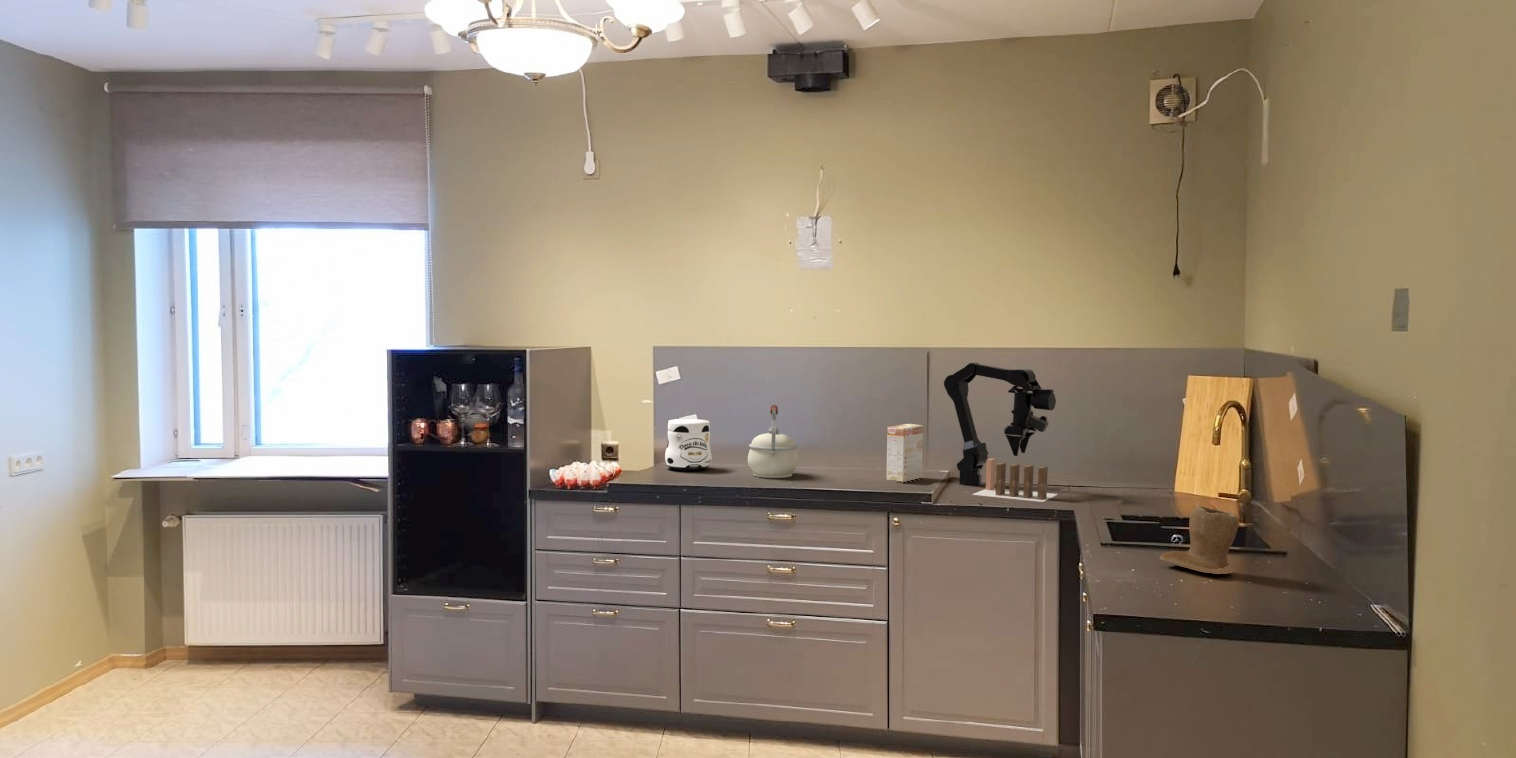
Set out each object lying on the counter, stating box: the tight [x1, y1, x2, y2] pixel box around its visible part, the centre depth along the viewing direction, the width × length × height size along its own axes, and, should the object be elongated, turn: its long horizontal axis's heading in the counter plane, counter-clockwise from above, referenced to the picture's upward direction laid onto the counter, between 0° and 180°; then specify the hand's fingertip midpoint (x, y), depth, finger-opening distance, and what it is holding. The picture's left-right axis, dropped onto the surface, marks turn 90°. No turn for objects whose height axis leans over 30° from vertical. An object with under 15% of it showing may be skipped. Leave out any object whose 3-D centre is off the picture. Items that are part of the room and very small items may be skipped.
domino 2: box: [995, 462, 1007, 496], centre depth 344 cm, size 2×5×10 cm, turn 150°
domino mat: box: [971, 487, 1058, 503], centre depth 345 cm, size 23×18×1 cm
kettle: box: [747, 404, 799, 479], centre depth 385 cm, size 25×18×25 cm
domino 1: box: [985, 457, 997, 490], centre depth 355 cm, size 2×5×10 cm, turn 150°
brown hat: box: [1159, 505, 1239, 569], centre depth 247 cm, size 15×12×15 cm
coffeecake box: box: [886, 423, 924, 481], centre depth 379 cm, size 15×7×20 cm, turn 144°
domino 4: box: [1022, 464, 1035, 498], centre depth 340 cm, size 2×5×10 cm, turn 150°
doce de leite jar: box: [664, 418, 713, 471], centre depth 395 cm, size 17×17×18 cm
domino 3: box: [1009, 463, 1021, 497], centre depth 342 cm, size 2×5×10 cm, turn 150°
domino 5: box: [1037, 465, 1049, 500], centre depth 337 cm, size 2×5×10 cm, turn 150°
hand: (1019, 454), depth 352 cm, fingers open, 9 cm apart
